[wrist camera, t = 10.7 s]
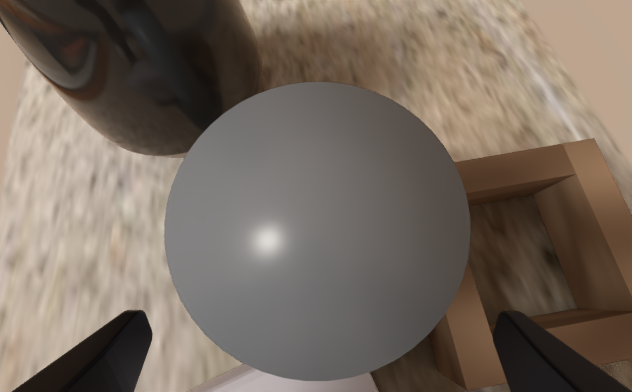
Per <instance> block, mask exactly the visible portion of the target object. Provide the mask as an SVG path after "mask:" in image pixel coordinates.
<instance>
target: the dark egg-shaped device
mask: <svg viewBox="0 0 632 392" xmlns="http://www.w3.org/2000/svg"><path fill="white" fill-rule="evenodd" d="M0 23H1V24H2V25H3V27H4V28H5V29H6V30H7V32H8V33H9V35H10V36H11V37H12V39H13V40H14V41H15V43H16V44H17V45H18V47H19V48H20V49H21V50H22V52H23V53H24V54H25V56H26V57H27V58H28V60H29V61H30V62H31V63H32V64H33V66H34V67H35V68H36V69H37V71H38V72H39V73H40V74H41V75H42V76H43V78H44V79H45V80H46V81H47V82H48V83H49V84H50V86H51V87H52V88H53V89H54V90H55V91H56V92H57V93H58V94H59V95H60V96H61V97H62V98H63V99H64V100H65V102H66V103H67V104H68V105H69V106H70V107H71V108H72V109H73V110H74V111H75V112H76V113H77V114H78V115H79V116H80V117H81V118H82V119H83V120H84V121H86V122H87V123H88V124H89V125H90V126H91V127H92V128H93V129H95V130H96V131H97V132H98V133H100V134H101V135H102V136H104V137H105V138H106V139H108V140H109V141H111V142H112V143H114V144H116V145H118V146H119V147H122V148H124V149H126V150H129V151H132V152H135V153H139V154H144V155H152V156H163V157H172V158H184V157H186V155H187V153H188V152H189V150H190V149H191V147H192V146H193V145H194V143H195V142H196V141H197V139H198V138H199V137H200V136H201V135H202V134H203V132H204V131H205V130H206V129H207V128H208V127H209V126H210V125H211V124H212V123H213V122H214V121H216V120H217V119H218V118H219V117H220V116H221V115H223V114H224V113H225V112H227V111H228V110H230V109H231V108H233V107H234V106H236V105H237V104H239V103H240V102H242V101H244V100H246V99H248V98H250V97H252V96H254V95H256V94H258V92H259V89H260V85H261V81H262V69H263V67H262V58H261V53H260V49H259V46H258V42H257V39H256V36H255V34H254V31H253V28H252V26H251V24H250V22H249V19H248V17H247V15H246V13H245V11H244V9H243V6H242V4H241V2H240V0H0Z"/></svg>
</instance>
